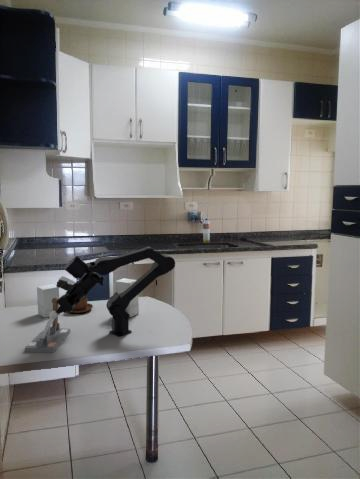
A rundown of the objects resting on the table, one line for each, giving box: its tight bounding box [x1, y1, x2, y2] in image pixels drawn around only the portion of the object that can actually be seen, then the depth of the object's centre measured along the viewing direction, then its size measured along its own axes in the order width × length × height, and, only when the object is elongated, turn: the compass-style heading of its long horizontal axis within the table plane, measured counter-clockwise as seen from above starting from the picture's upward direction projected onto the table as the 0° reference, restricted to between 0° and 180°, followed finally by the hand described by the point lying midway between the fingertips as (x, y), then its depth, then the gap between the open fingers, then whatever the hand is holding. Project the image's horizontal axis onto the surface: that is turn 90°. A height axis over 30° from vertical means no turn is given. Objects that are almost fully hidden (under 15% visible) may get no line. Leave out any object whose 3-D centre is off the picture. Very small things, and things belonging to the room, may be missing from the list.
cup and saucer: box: [70, 295, 94, 314], centre depth 189 cm, size 12×12×6 cm
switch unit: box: [24, 322, 71, 353], centre depth 153 cm, size 10×19×4 cm, turn 177°
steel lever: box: [40, 311, 59, 342], centre depth 146 cm, size 3×3×13 cm
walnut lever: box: [51, 297, 60, 328], centre depth 158 cm, size 3×3×13 cm
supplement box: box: [36, 283, 60, 318], centre depth 183 cm, size 7×7×13 cm
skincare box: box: [114, 278, 140, 318], centre depth 183 cm, size 8×7×16 cm
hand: (57, 312), depth 158 cm, fingers closed, pressing on walnut lever
